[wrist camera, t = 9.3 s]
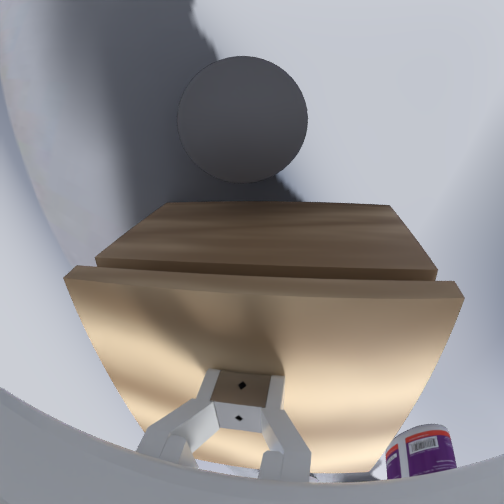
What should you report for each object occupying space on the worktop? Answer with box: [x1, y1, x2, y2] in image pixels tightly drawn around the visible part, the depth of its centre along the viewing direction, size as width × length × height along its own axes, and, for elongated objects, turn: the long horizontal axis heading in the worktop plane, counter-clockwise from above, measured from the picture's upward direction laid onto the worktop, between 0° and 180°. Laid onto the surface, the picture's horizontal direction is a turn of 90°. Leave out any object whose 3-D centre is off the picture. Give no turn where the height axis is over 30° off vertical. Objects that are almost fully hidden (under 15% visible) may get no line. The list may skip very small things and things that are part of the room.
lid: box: [63, 265, 464, 473], centre depth 13 cm, size 15×15×1 cm
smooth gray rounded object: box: [177, 56, 308, 183], centre depth 14 cm, size 6×6×4 cm
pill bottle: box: [386, 424, 457, 480], centre depth 20 cm, size 8×8×14 cm
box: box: [95, 201, 438, 281], centre depth 17 cm, size 14×14×8 cm
